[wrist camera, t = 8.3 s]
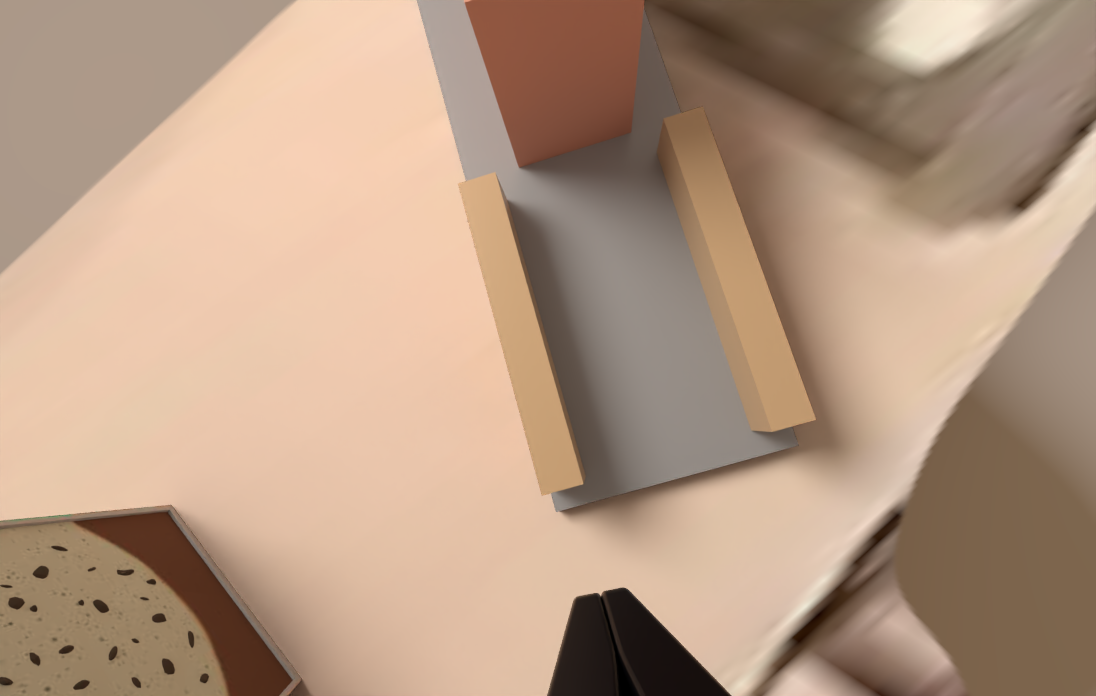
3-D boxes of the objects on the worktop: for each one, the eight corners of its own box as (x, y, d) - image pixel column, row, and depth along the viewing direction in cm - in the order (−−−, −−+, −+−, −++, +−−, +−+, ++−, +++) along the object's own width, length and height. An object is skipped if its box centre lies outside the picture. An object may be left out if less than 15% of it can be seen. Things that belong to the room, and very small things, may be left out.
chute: (793, 444, 20) (826, 448, 17) (557, 509, 21) (549, 524, 18) (602, -97, 24) (602, -171, 21) (410, -31, 25) (383, -93, 22)
